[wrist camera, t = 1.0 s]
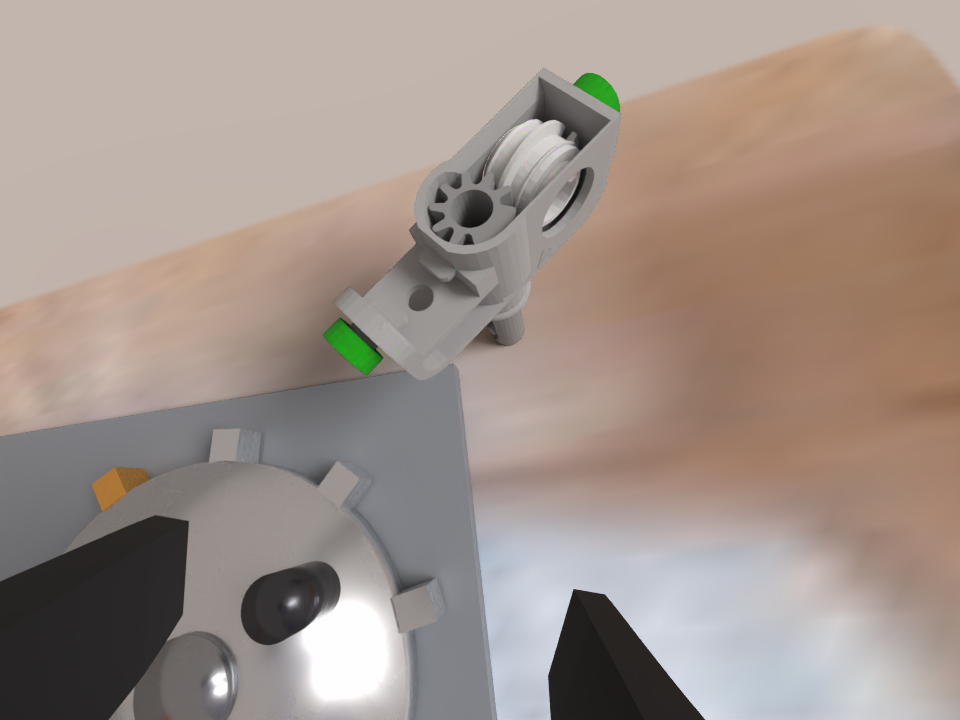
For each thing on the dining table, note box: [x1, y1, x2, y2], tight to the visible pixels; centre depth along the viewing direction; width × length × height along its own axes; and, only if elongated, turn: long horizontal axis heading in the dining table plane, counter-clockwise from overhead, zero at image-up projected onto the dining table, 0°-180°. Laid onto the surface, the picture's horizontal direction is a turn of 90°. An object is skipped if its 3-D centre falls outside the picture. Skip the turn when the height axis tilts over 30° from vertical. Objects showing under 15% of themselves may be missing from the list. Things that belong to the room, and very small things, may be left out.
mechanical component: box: [323, 68, 621, 380], centre depth 17 cm, size 3×10×10 cm, turn 136°
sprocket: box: [63, 428, 446, 720], centre depth 16 cm, size 18×19×4 cm
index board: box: [0, 364, 497, 720], centre depth 19 cm, size 22×24×2 cm
